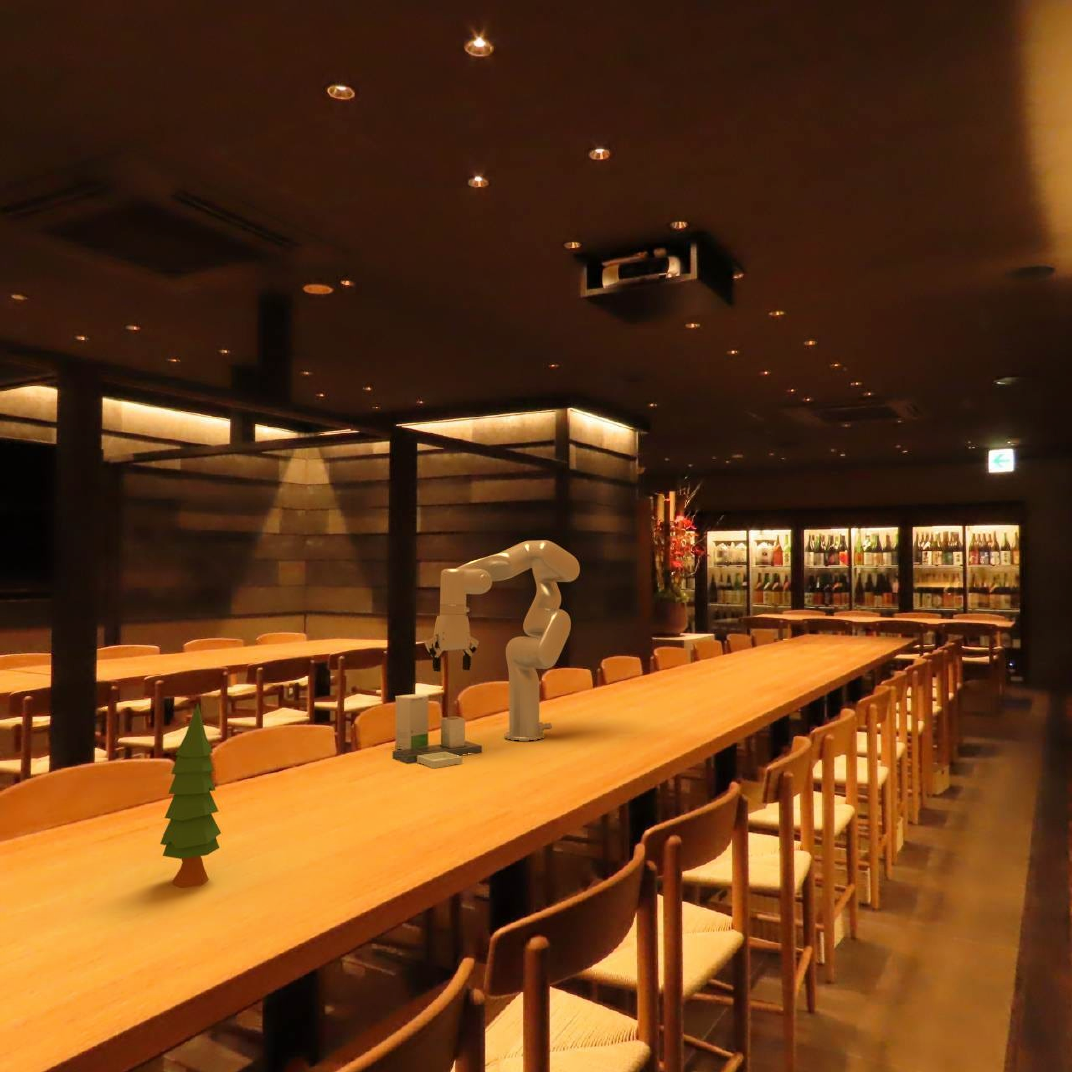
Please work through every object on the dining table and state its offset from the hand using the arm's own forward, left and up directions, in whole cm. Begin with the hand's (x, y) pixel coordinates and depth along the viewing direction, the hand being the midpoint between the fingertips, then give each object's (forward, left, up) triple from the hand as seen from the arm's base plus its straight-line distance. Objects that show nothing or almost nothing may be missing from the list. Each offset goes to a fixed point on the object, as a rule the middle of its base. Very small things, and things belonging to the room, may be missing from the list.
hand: (451, 670), depth 259 cm
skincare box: (+6, -13, -24) cm, 28 cm away
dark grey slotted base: (+5, 0, -24) cm, 24 cm away
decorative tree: (+91, +65, -24) cm, 114 cm away
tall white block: (0, 0, -24) cm, 24 cm away
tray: (+10, +10, -24) cm, 27 cm away
